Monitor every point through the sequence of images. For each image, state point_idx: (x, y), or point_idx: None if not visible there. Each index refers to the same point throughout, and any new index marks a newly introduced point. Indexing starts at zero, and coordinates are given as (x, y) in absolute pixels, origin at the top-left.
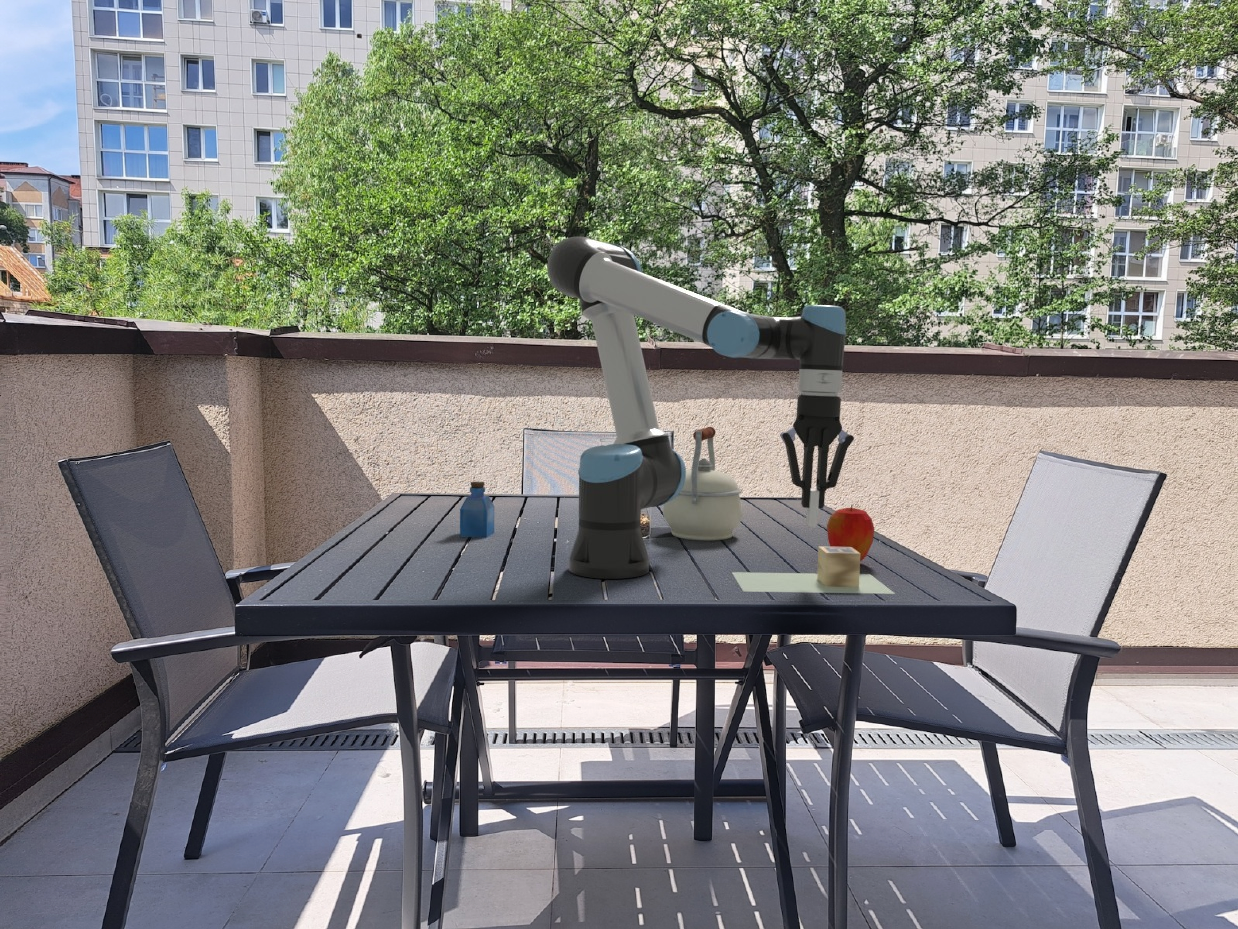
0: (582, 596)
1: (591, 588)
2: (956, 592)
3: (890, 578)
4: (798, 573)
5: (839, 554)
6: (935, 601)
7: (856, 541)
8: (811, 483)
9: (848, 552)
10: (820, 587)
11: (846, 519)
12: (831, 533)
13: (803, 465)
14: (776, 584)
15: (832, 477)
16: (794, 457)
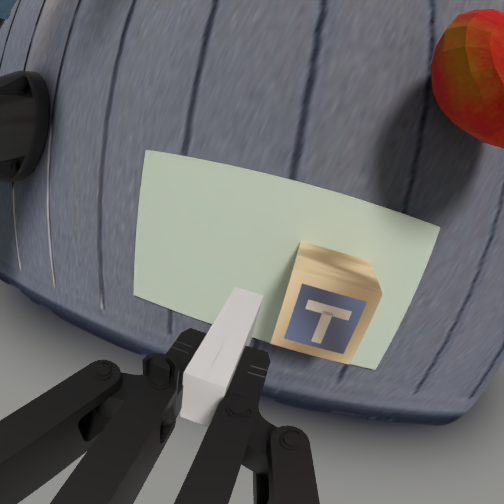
0: (7, 251)
1: (8, 219)
2: (476, 359)
3: (464, 251)
4: (282, 180)
5: (301, 350)
6: (406, 396)
7: (482, 140)
8: (167, 439)
9: (328, 350)
10: (269, 308)
11: (494, 109)
12: (441, 72)
13: (88, 460)
14: (195, 267)
15: (259, 497)
16: (29, 479)
